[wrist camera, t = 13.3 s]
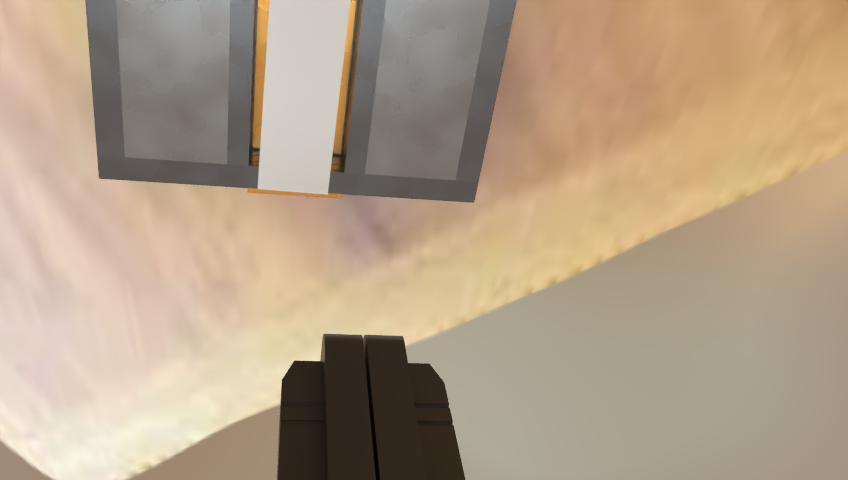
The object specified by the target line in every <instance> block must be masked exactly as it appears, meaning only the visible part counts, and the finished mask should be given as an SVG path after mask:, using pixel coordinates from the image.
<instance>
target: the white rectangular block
mask: <svg viewBox="0 0 848 480" xmlns="http://www.w3.org/2000/svg"><path fill="white" fill-rule="evenodd" d="M349 9H350V0H270V1H269V17H268V33H267V48H266V64H265V80H264V96H263V111H262V127H261V143H260V159H259V174H258V189H263V190H275V191H288V192H300V193H313V194H326V195H328V188H329V179H330V171H331V162H332V154H333V145H334V137H335V128H336V120H337V111H338V103H339V94H340V85H341V77H342V68H343V60H344V51H345V43H346V34H347V26H348V17H349Z"/></svg>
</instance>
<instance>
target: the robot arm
mask: <svg viewBox="0 0 848 480" xmlns="http://www.w3.org/2000/svg"><path fill="white" fill-rule="evenodd" d="M277 480H465V477H464V472H463V467H462V463H461V458H460V453H459V449H458V444H457V440H456V435H455V430H454V426H453V425H452V417H451V413H450V408H449V403H448V398H447V393H446V389H445V384H444V382H443V381H442V379H441V378H440V377H439V375H438V374H437V373H436V372H435V370H434V369H433V368H432V367H431V365H430V364H419V363H408V361H407V355H406V349H405V343H404V338H403V336H382V335H364V338H363V337H362V335H342V334H323V340H322V351H321V361H294V362H293V364H292V365H291V367H290V368H289V370H288V372H287V373H286V375H285V376H284V378H283V379H282V389H281V406H280V425H279V443H278V465H277Z"/></svg>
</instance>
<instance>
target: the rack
mask: <svg viewBox="0 0 848 480" xmlns="http://www.w3.org/2000/svg"><path fill="white" fill-rule="evenodd" d="M269 1H270V0H86V13H87V27H88V40H89V53H90V66H91V79H92V92H93V105H94V118H95V131H96V144H97V157H98V170H99V178H100V179H116V180H131V181H147V182H162V183H178V184H193V185H209V186H225V187H240V188H248V192H249V193H265V194H281V195H296V196H312V197H328V198H342V194H349V195H365V196H380V197H396V198H411V199H427V200H443V201H458V202H474V200H475V195H476V191H477V186H478V181H479V176H480V172H481V167H482V162H483V157H484V152H485V148H486V143H487V138H488V133H489V129H490V124H491V119H492V114H493V110H494V105H495V100H496V95H497V90H498V86H499V81H500V76H501V71H502V67H503V62H504V57H505V52H506V47H507V43H508V38H509V33H510V28H511V24H512V19H513V14H514V9H515V4H516V0H350V9H349V17H348V26H347V34H346V43H345V51H344V60H343V68H342V77H341V85H340V94H339V103H338V111H337V120H336V128H335V137H334V145H333V154H332V162H331V171H330V179H329V188H328V195H326V194H313V193H300V192H288V191H275V190H263V189H258V174H259V159H260V143H261V127H262V111H263V96H264V80H265V64H266V48H267V33H268V17H269Z"/></svg>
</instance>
